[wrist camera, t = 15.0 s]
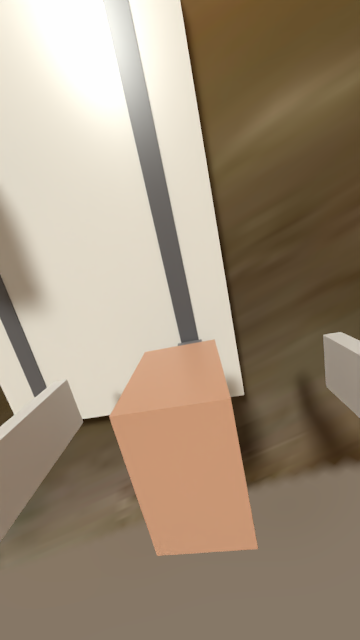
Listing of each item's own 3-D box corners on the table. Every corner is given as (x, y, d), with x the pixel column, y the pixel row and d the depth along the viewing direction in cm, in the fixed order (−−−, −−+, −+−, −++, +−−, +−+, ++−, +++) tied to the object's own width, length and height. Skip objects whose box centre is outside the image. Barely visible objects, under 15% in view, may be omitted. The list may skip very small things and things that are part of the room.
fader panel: (45, 404, 20) (19, 429, 17) (-97, 68, 14) (-176, 15, 11) (236, 374, 18) (244, 395, 15) (167, -36, 12) (158, -135, 9)
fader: (178, 388, 15) (157, 555, 6) (161, 321, 14) (109, 416, 5) (220, 381, 15) (257, 548, 6) (207, 312, 14) (230, 398, 5)
